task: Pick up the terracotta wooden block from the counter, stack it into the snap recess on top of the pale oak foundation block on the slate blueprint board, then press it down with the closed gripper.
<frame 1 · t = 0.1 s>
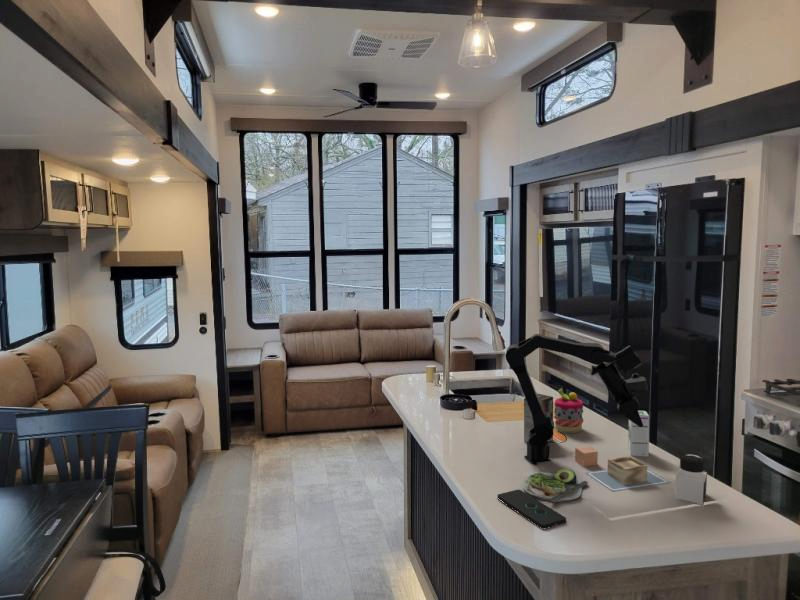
hand: (639, 421, 189), 15 cm above the kitchen island, tool tilted 30°, fingers open, 9 cm apart
terracotta block: (586, 464, 193), on the kitchen island
blueprint board: (626, 479, 181), on the kitchen island
cake: (568, 429, 227), on the kitchen island
syrup box: (637, 455, 201), on the kitchen island
medicine bottle: (690, 498, 168), on the kitchen island
salad plate: (554, 490, 176), on the kitchen island
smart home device: (530, 512, 163), on the kitchen island
oak foundation: (626, 477, 181), resting on blueprint board
coffee box: (538, 441, 215), on the kitchen island
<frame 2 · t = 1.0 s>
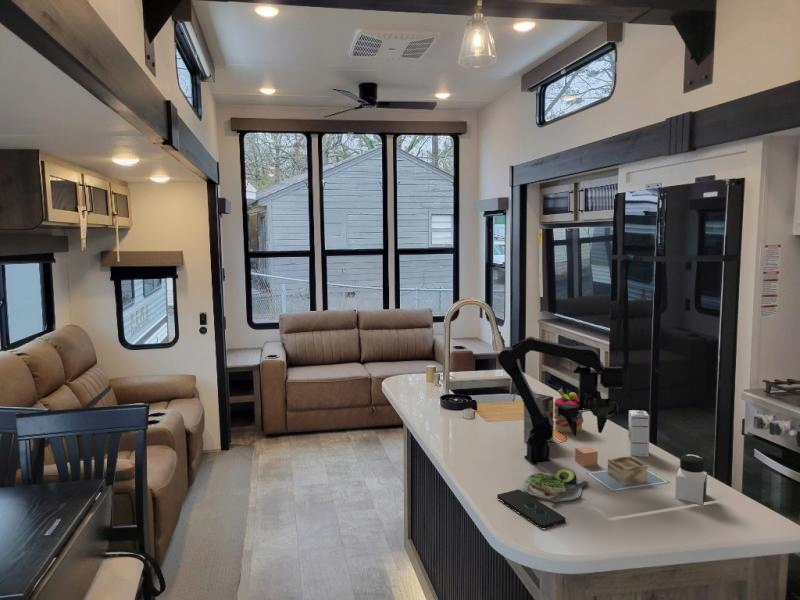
hand: (587, 434, 192), 10 cm above the kitchen island, tool pointing down, fingers open, 9 cm apart
nothing on the kitchen island moved.
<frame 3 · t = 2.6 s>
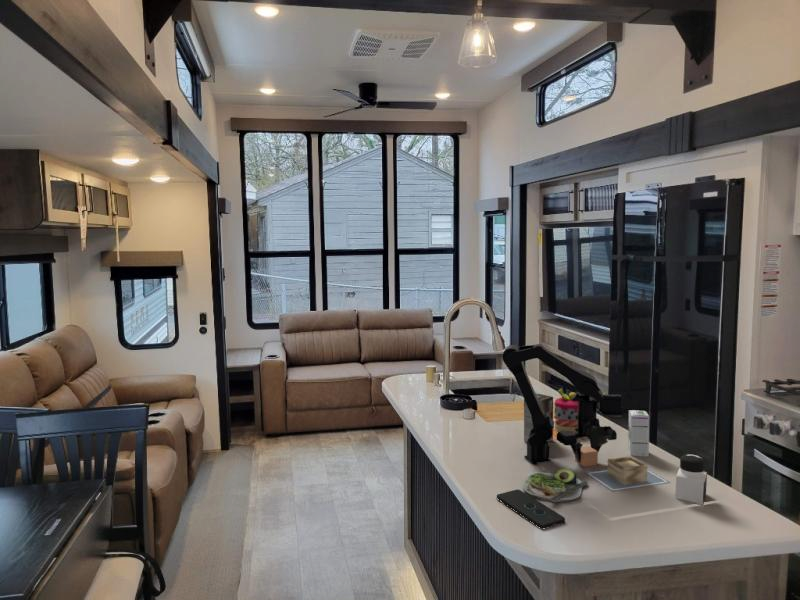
hand: (586, 461, 193), 1 cm above the kitchen island, tool pointing down, fingers closed on terracotta block, 5 cm apart
terracotta block: (586, 464, 193), on the kitchen island, touching gripper
everything else where it was.
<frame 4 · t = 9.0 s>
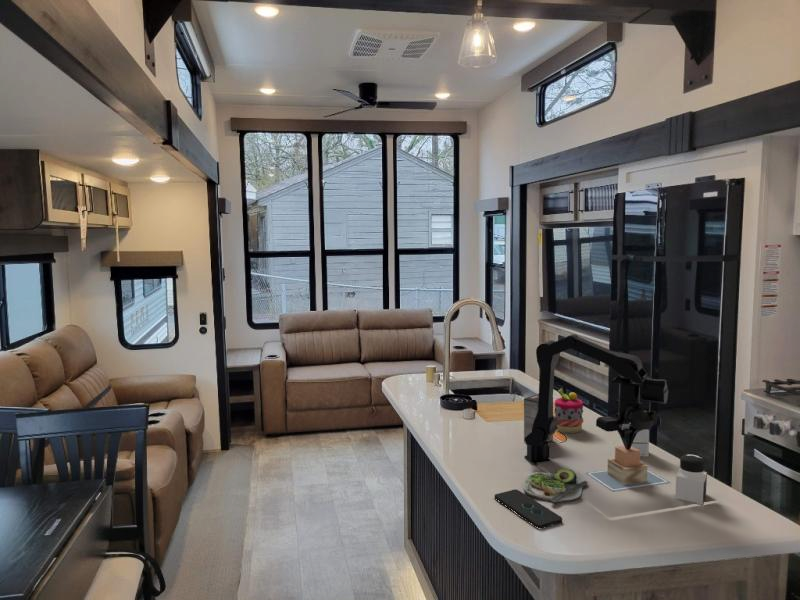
hand: (627, 449, 180), 10 cm above the kitchen island, tool pointing down, fingers closed, pressing on terracotta block
terracotta block: (627, 464, 181), point 5 cm above the kitchen island, touching gripper, oak foundation
everything else where it was.
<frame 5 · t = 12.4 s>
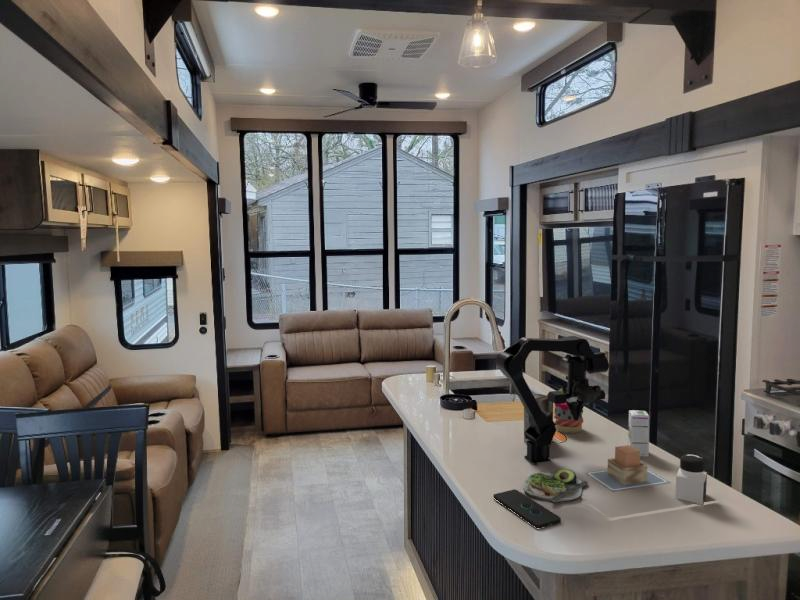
hand: (575, 420, 200), 12 cm above the kitchen island, tool pointing down, fingers closed
terracotta block: (627, 464, 181), point 5 cm above the kitchen island, touching oak foundation
at the end: terracotta block 0.1 cm off-centre on the oak foundation, point 4.0 cm above the oak foundation's base; terracotta block tilted 0°; the gripper is holding nothing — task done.
